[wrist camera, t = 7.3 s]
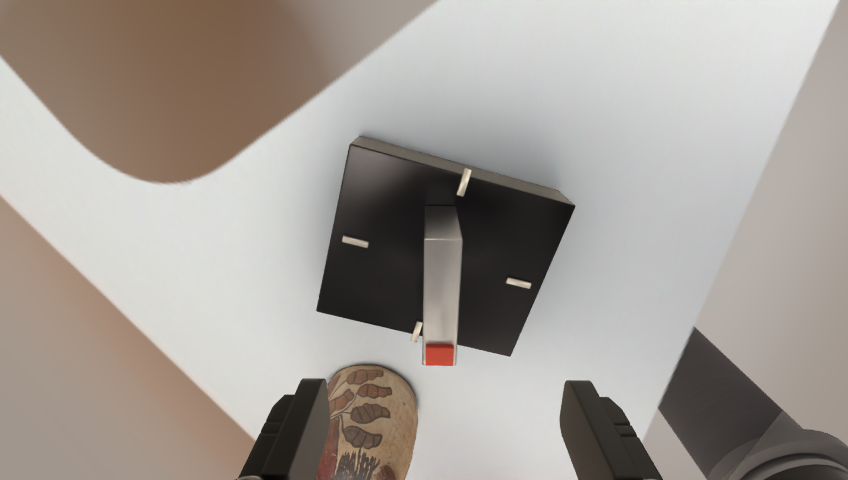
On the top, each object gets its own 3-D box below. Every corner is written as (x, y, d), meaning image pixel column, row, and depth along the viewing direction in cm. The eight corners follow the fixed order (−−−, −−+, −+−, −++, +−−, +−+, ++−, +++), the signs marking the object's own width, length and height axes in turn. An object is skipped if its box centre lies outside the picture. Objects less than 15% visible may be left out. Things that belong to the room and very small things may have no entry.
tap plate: (561, 184, 24) (580, 200, 21) (500, 332, 28) (508, 363, 25) (360, 129, 23) (350, 136, 20) (326, 291, 26) (313, 318, 24)
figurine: (304, 379, 29) (229, 565, 18) (396, 351, 28) (376, 530, 17) (346, 447, 32) (302, 648, 21) (431, 424, 31) (433, 622, 20)
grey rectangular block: (424, 205, 21) (424, 240, 17) (455, 205, 21) (463, 241, 17) (423, 312, 23) (422, 369, 19) (450, 313, 23) (456, 369, 19)
